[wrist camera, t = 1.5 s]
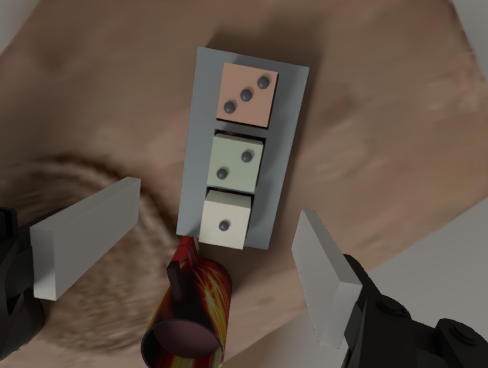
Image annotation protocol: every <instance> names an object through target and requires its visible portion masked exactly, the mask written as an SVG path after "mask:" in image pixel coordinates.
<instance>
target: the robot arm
mask: <svg viewBox="0 0 488 368" xmlns="http://www.w3.org/2000/svg"><path fill="white" fill-rule="evenodd" d="M140 181H141V179H137V178H132V177H126V178H124V179H122V180H120V181H118V182H116V183H114V184H112V185H110V186H109V187H107V188H105V189H103V190H101V191H99V192H97V193H95V194H93V195H91V196H89V197H87V198H85V199H83V200H81V201H79V202H78V203H76V204H74V205H72V206H67V207H63V208H59V209H56V210H54V211H52V212H50V213H48V214H46V215H44V216H42V217H40V218H38V220H34V221H32V222H30V223H28V224H26V225H23V226H21V227H19V228H18V219H17V211H16V210H14V209H11V208H7V207H0V361H1V360H3V359H4V358H6V357H7V356H9V355H10V354H12V353H15V352H16V351H18V350H20V349H21V348H23V347H24V346H25V345H27V344H28V343H29V342H30V341H31V340H32V338H33V337H34V336H35V335H36V334H37V333H38V332H39V331H40V329H41V327H42V324H43V311H42V307H41V305H40V302H39V301H38V299H37V298H43V299H49V300H54V301H56V300H57V299H58V298H59V297H60V296H61V295H62V294H63V293H64V292H66V291H67V290H68V289H69V288H70V287H71V286H72V285H73V284H74V283H75V282H76V281H77V280H78V279H79V278H80V277H81V276H82V275H83V274H84V273H85V272H86V271H87V270H88V269H89V268H91V267H92V266H93V265H94V264H95V263H96V262H97V261H98V260H99V259H100V258H101V257H102V256H103V255H104V254H105V253H106V252H107V251H108V250H109V249H110V248H111V247H112V246H113V245H115V244H116V243H117V242H118V241H119V240H120V239H121V238H122V237H123V236H124V235H125V234H126V233H127V232H128V231H129V230H130V229H131V228H132V227H133V226H134V225H135V224H136V223H137V222H138V211H139V196H140ZM291 250H292V253H293V257H294V260H295V264H296V268H297V271H298V275H299V278H300V282H301V285H302V289H303V292H304V296H305V299H306V303H307V306H308V310H309V313H310V316H311V320H312V324H313V327H314V331H315V334H316V337H317V341H318V345H319V346H324V347H330V348H336V349H339V348H340V346H341V343H342V341H343V338H344V336H345V338H346V341H347V344H348V346H349V348H348V350H347V353H346V356H345V359H344V361H343V364H342V366H341V368H488V342H487V341H486V340H485V339H484V338H483V337H482V336H481V335H479V334H478V333H477V332H475V331H474V330H473V329H472V328H470V327H469V326H468V327H467V325H465V324H463V323H460V322H457V321H455V320H451V319H447V318H443V319H440V320H439V321H438V323H437V325H436V327H435V328H432V327H430V326H427V325H424V324H422V323H419V322H417V321H414V320H412V318H411V316H410V313H409V312H408V311H407V310H406V308H405V307H404V306H403V305H401V304H400V303H399V302H397V301H396V300H394V299H392V298H390V297H388V296H385V295H382V294H381V293H380V291H379V290H378V289H377V287H376V286H375V284H374V283H373V281H372V280H371V279H370V277H368V274H367V273H366V272H365V271H364V269H363V267H362V266H361V265H360V263H359V262H358V261H357V260H355V259H354V258H353V257H352V256H351V255H347V254H342V252H341V251H340V249H339V248H338V246H337V244H336V243H335V241H334V240H333V238H332V237H331V235H330V233H329V232H328V230H327V229H326V227H325V226H324V224H323V222H322V221H321V219H320V218H319V216H318V215H317V213H316V211H315V210H309V209H304V208H302V211H301V214H300V218H299V222H298V226H297V230H296V233H295V237H294V241H293V245H292V249H291ZM31 284H33V285H34V293H33V292H32V291H31V290H30V289H29V288H28V287H29V286H30V285H31Z"/></svg>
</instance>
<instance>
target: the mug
mask: <svg viewBox="0 0 488 368" xmlns="http://www.w3.org/2000/svg"><path fill="white" fill-rule="evenodd" d="M186 253H187V256H188V261H186V262H184V263H182V262H183V260H184V258H185V256H186ZM167 274H168V278H169V281H170V283H169V285H168V287H167V289H166V291H165V293H164V296H163V298H162V300H161V302H160V304H159V306H158V308H157V310H156V312H155V314H154V316H153V318H152V320H151V322H150V324H149V326H148V328H147V331H146V333H145V335H144V337H143V339H142V342H141V354H142V358H143V360H144V362H145V364H146V365H147V366H148V368H221V366H222V363H223V361H224V352H225V344H226V335H227V327H228V318H229V309H230V301H231V292H232V280H231V277H230V275H229V273H228V271H227V270H226V269H225V268H224V267H223V266H222V265H220V264H219V263H217V262H215V261H213V260H210V259H206V258H198V255H197V251H196V247H195V243H194V238H193V237H190V236H184V237H183V239H182V241H181V243H180V244H179V247H178V249H177V251H176V253H175V254H174V256H173V258H172V260H171V262H170V264H169V265H168V267H167Z"/></svg>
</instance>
